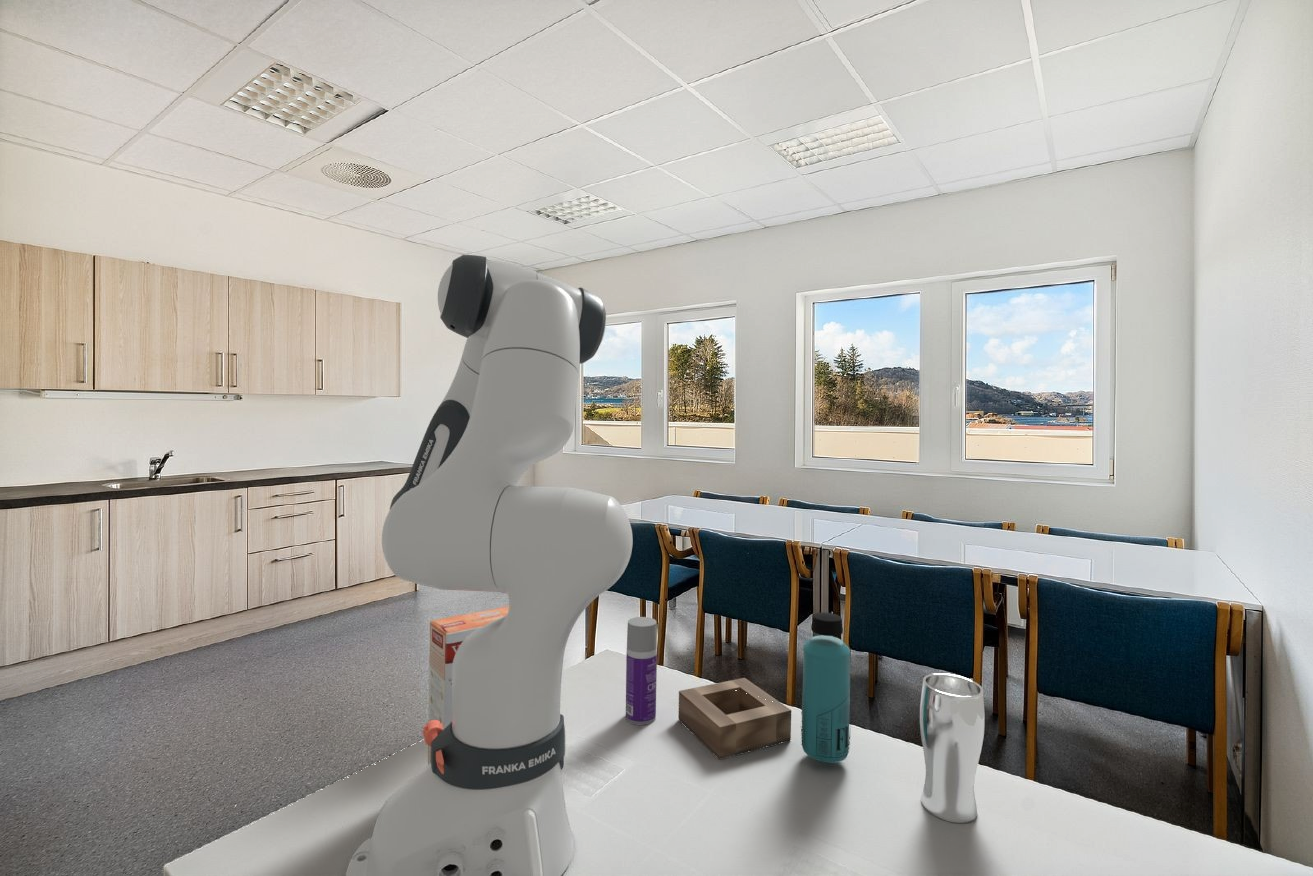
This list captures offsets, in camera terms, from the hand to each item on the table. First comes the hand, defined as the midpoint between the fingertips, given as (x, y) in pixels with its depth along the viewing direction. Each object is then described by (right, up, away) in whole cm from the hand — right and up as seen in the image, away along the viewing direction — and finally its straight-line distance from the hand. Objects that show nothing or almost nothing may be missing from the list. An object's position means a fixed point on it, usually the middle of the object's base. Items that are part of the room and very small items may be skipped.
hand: (575, 555), depth 99 cm
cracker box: (-8, -25, -20) cm, 33 cm away
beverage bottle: (+36, -25, -15) cm, 46 cm away
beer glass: (+48, -26, -25) cm, 60 cm away
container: (+11, -24, -4) cm, 27 cm away
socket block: (+24, -24, -8) cm, 35 cm away
